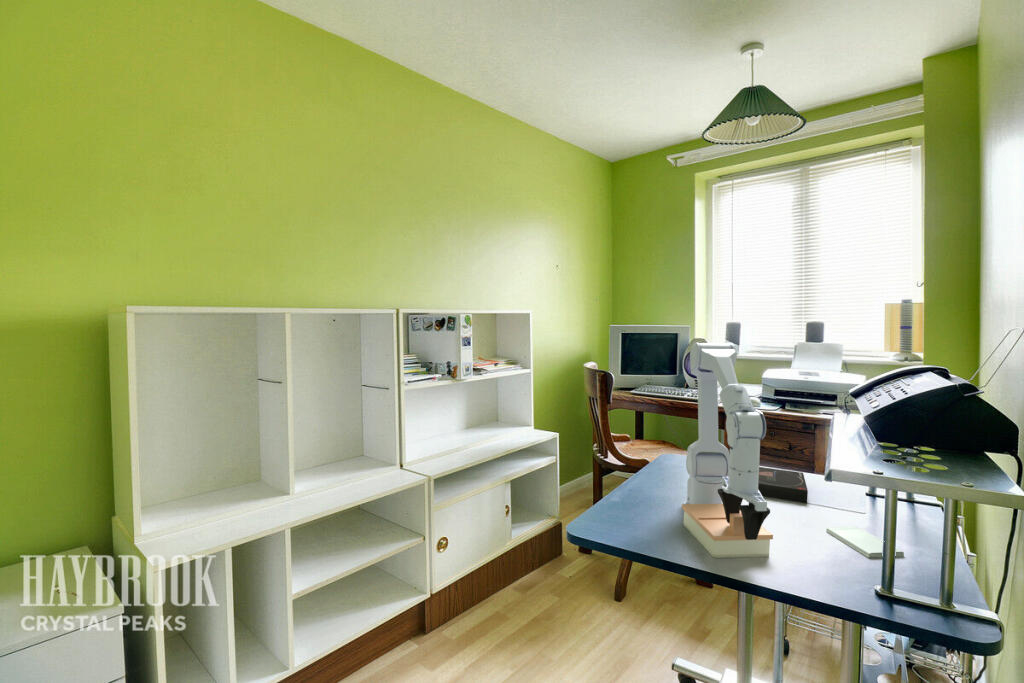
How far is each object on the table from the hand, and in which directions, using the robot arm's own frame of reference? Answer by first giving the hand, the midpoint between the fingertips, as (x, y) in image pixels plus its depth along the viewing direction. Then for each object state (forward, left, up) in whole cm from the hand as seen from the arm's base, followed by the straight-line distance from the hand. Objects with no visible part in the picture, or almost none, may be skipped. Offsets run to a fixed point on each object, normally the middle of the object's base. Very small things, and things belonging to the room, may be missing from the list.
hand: (741, 530), depth 105 cm
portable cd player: (-38, +30, -6) cm, 49 cm away
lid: (-7, 0, -2) cm, 8 cm away
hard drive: (-4, +31, -6) cm, 32 cm away
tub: (-7, 0, -6) cm, 9 cm away
